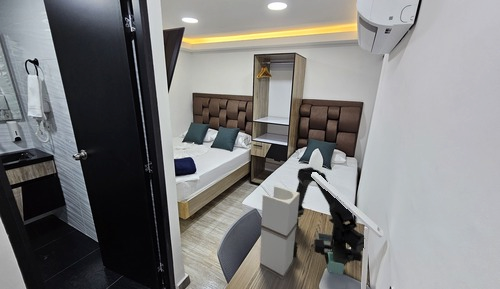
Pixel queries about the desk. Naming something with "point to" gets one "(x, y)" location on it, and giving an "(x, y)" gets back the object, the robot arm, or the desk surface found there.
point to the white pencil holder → (278, 230)
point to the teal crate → (334, 265)
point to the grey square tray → (324, 238)
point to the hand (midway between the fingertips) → (334, 265)
